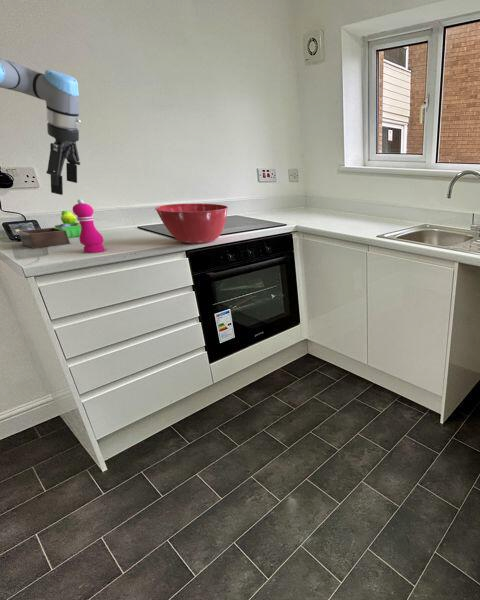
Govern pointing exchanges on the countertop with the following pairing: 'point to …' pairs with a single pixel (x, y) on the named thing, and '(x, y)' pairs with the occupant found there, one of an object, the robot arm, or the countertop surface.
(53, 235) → the holder
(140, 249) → the countertop surface
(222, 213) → the mixing bowl
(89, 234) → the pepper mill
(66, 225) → the fruit basket
